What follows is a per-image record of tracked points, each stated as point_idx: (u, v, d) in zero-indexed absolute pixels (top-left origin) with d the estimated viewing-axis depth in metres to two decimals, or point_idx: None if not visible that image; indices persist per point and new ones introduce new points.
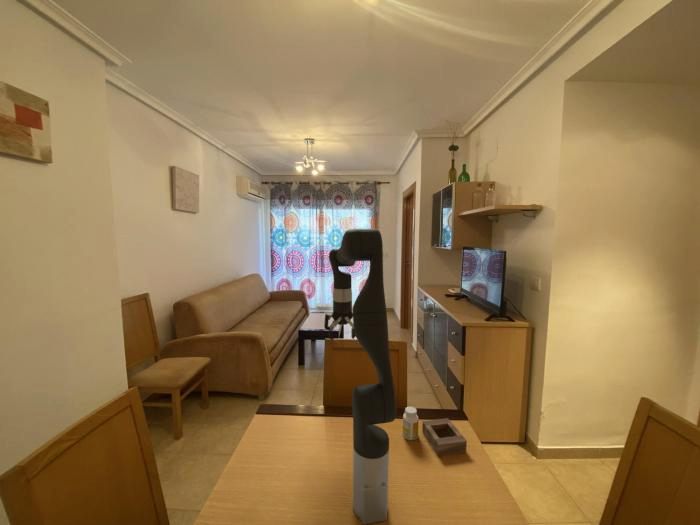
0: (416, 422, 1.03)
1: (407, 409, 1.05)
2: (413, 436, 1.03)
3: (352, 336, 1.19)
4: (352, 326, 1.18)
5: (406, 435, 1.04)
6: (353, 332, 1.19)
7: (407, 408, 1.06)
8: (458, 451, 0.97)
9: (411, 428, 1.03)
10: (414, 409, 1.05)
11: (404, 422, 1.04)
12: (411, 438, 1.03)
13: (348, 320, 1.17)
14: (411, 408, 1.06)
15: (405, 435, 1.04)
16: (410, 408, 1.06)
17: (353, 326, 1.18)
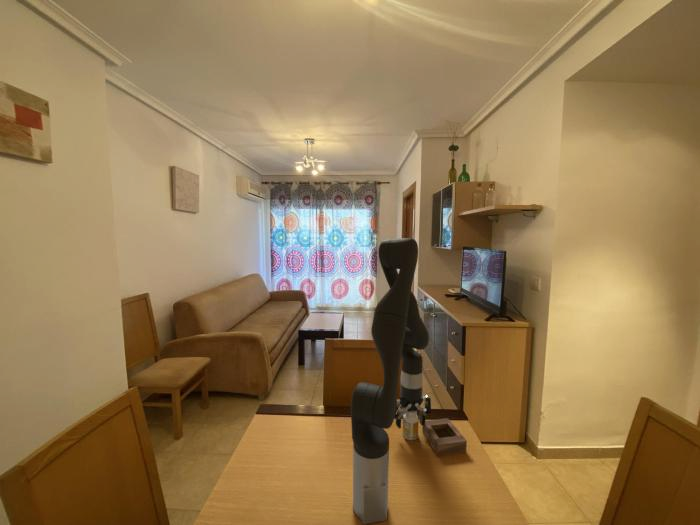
0: (416, 422, 1.03)
1: None
2: (413, 436, 1.03)
3: (422, 423, 1.05)
4: (422, 412, 1.05)
5: (406, 435, 1.04)
6: (423, 418, 1.05)
7: None
8: (458, 451, 0.97)
9: (411, 428, 1.03)
10: None
11: (404, 422, 1.04)
12: (411, 438, 1.03)
13: (418, 406, 1.04)
14: None
15: (405, 435, 1.04)
16: None
17: (423, 412, 1.05)
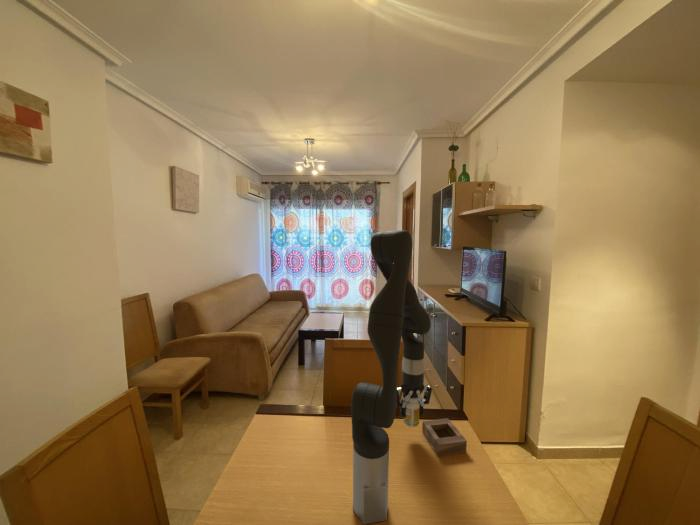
0: (417, 409, 1.02)
1: None
2: (414, 423, 1.02)
3: (419, 413, 1.04)
4: (420, 402, 1.03)
5: (407, 422, 1.03)
6: (421, 409, 1.04)
7: None
8: (458, 451, 0.97)
9: (412, 415, 1.02)
10: None
11: None
12: (412, 425, 1.02)
13: (419, 394, 1.02)
14: None
15: (406, 422, 1.03)
16: None
17: (421, 402, 1.03)
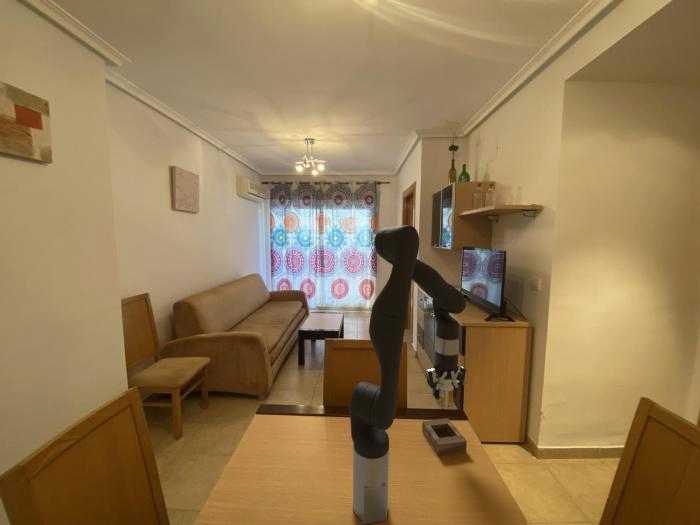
0: (451, 390, 0.99)
1: None
2: (448, 404, 0.99)
3: (453, 395, 1.01)
4: (454, 384, 1.00)
5: (441, 404, 0.99)
6: (454, 390, 1.00)
7: None
8: (458, 451, 0.97)
9: (446, 396, 0.98)
10: None
11: None
12: (446, 407, 0.99)
13: (453, 375, 0.99)
14: None
15: (440, 404, 1.00)
16: None
17: (455, 383, 1.00)
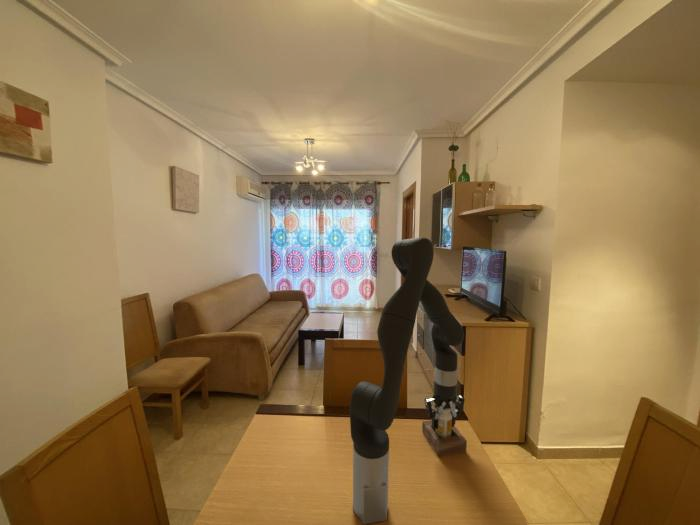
0: (450, 420, 1.00)
1: None
2: (447, 434, 1.00)
3: (452, 424, 1.02)
4: (452, 413, 1.01)
5: (439, 433, 1.01)
6: (453, 420, 1.02)
7: None
8: (458, 451, 0.97)
9: (445, 426, 1.00)
10: None
11: None
12: (445, 436, 1.00)
13: (452, 405, 1.00)
14: None
15: (438, 433, 1.01)
16: None
17: (453, 413, 1.01)
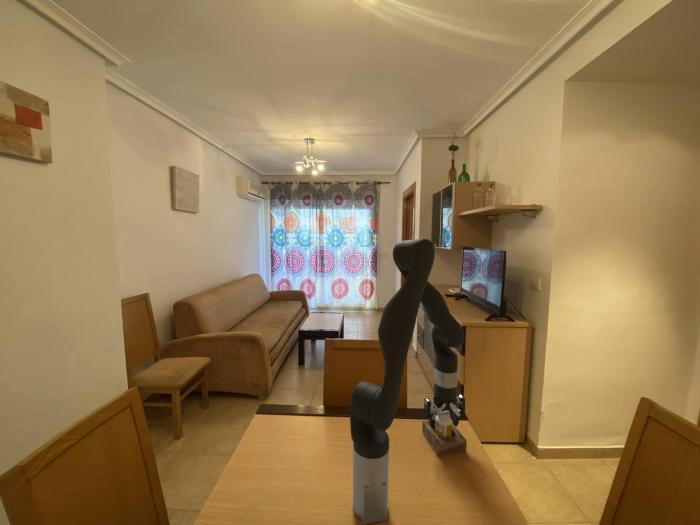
0: (450, 425, 1.00)
1: (440, 412, 1.02)
2: None
3: (455, 424, 1.02)
4: (456, 412, 1.01)
5: None
6: (457, 419, 1.02)
7: None
8: (458, 451, 0.97)
9: (445, 431, 1.00)
10: (447, 411, 1.02)
11: (437, 425, 1.01)
12: None
13: (453, 406, 1.00)
14: None
15: None
16: None
17: (457, 412, 1.01)
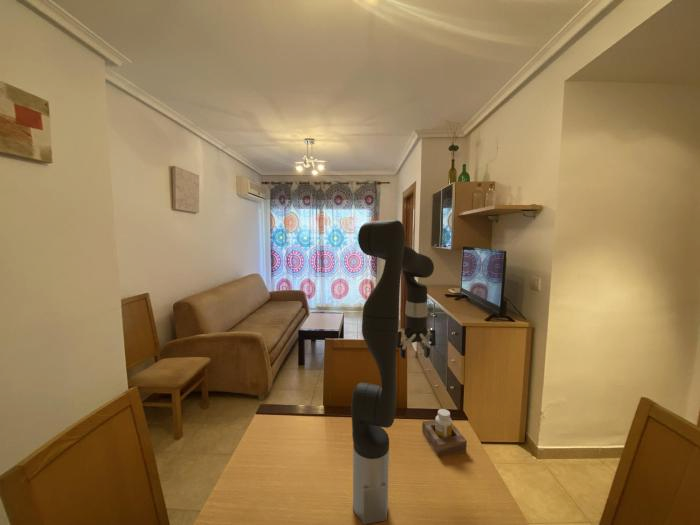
0: (450, 425, 1.00)
1: (440, 412, 1.02)
2: None
3: (426, 355, 1.06)
4: (427, 344, 1.05)
5: None
6: (427, 350, 1.06)
7: (440, 410, 1.02)
8: (458, 451, 0.97)
9: (445, 432, 1.00)
10: (447, 411, 1.02)
11: (437, 425, 1.01)
12: None
13: (423, 337, 1.04)
14: (444, 410, 1.03)
15: None
16: (443, 410, 1.02)
17: (428, 344, 1.05)
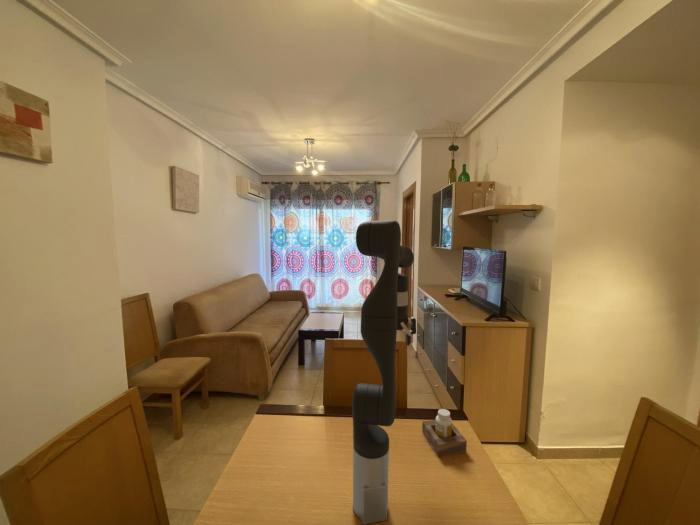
0: (450, 425, 1.00)
1: (441, 412, 1.02)
2: None
3: (407, 343, 1.10)
4: (407, 332, 1.09)
5: None
6: (408, 338, 1.09)
7: (440, 410, 1.02)
8: (458, 451, 0.97)
9: (445, 432, 1.00)
10: (447, 411, 1.02)
11: (437, 425, 1.01)
12: None
13: (404, 326, 1.08)
14: (444, 410, 1.03)
15: None
16: (443, 410, 1.02)
17: (408, 332, 1.09)
